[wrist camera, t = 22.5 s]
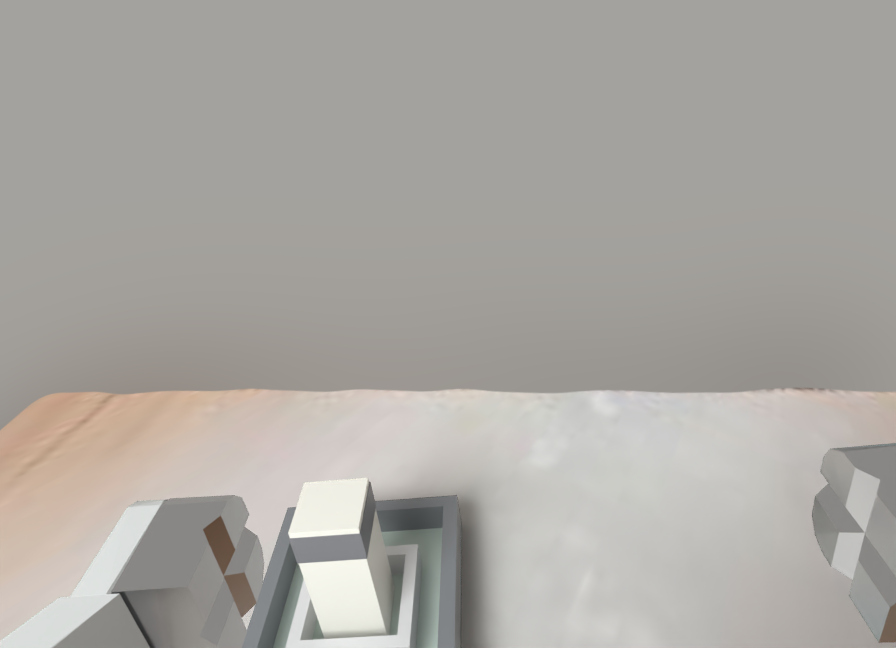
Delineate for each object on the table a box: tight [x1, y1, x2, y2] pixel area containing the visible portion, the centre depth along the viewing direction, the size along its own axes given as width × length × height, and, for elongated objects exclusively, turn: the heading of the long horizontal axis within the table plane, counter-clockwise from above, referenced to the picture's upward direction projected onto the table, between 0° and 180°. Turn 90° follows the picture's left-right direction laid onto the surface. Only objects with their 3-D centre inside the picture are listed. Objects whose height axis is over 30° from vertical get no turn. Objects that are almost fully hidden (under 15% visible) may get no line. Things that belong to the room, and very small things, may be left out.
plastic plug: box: [288, 478, 395, 639], centre depth 39 cm, size 4×4×10 cm
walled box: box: [242, 495, 462, 648], centre depth 41 cm, size 13×16×3 cm
